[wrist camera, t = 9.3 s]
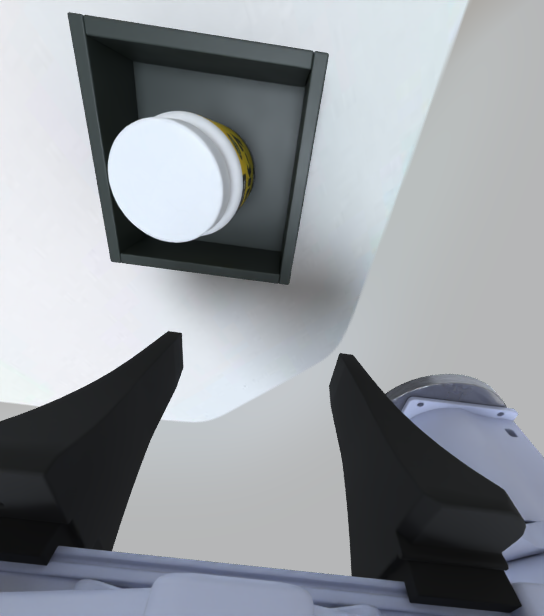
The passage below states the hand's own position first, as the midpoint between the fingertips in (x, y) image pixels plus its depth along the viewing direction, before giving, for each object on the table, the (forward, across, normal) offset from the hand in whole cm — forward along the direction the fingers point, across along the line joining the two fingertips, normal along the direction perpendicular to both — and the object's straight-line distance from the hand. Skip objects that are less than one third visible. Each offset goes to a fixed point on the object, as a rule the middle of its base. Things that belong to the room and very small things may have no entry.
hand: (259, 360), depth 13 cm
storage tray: (+9, +4, -7) cm, 12 cm away
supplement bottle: (+9, +4, -7) cm, 12 cm away
